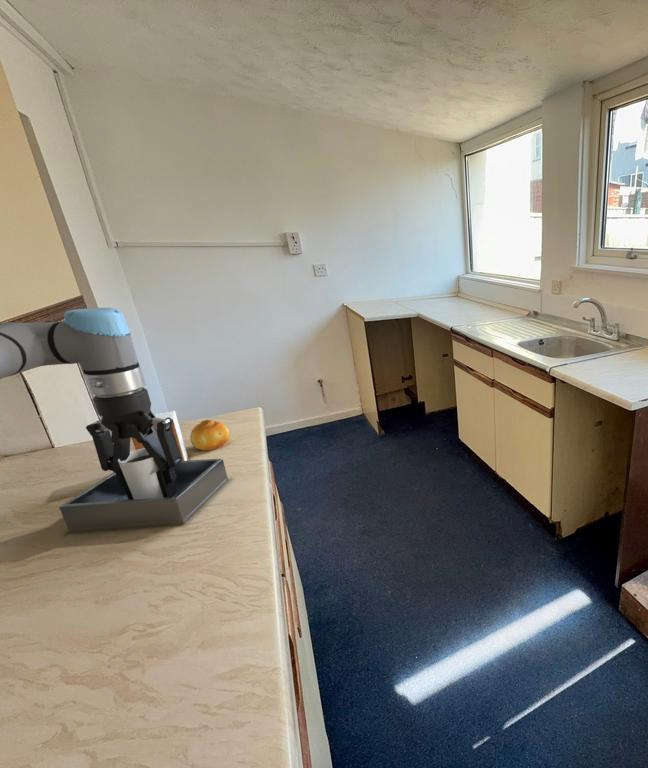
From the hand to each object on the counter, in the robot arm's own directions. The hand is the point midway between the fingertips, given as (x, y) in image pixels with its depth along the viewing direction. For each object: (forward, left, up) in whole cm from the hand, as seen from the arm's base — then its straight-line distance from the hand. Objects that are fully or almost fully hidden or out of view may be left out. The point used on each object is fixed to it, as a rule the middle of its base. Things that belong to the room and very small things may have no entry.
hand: (153, 496), depth 82 cm
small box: (-9, +17, -2) cm, 19 cm away
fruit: (-4, +27, -2) cm, 27 cm away
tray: (0, 0, -2) cm, 2 cm away
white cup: (0, 0, 0) cm, 0 cm away
